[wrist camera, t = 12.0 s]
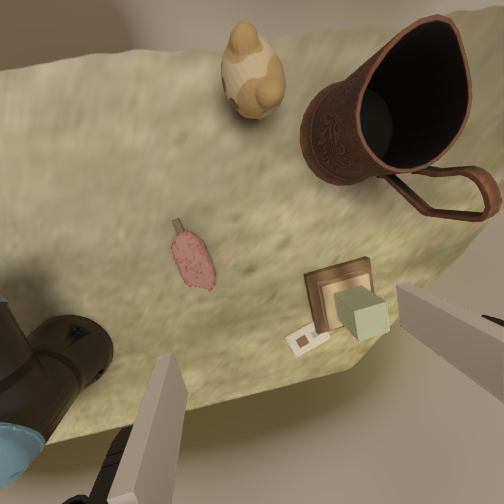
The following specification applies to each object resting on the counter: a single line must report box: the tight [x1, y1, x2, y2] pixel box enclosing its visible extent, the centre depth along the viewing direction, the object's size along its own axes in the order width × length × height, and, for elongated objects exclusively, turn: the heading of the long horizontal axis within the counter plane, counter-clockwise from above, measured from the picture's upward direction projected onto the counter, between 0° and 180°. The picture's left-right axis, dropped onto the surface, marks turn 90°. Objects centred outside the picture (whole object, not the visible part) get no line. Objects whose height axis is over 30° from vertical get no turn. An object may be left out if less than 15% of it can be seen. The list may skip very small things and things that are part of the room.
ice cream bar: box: [171, 219, 216, 291], centre depth 48 cm, size 6×4×15 cm
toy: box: [221, 21, 285, 121], centre depth 37 cm, size 10×8×15 cm
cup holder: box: [300, 14, 502, 222], centre depth 37 cm, size 18×24×25 cm
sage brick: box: [333, 285, 390, 341], centre depth 48 cm, size 6×6×8 cm
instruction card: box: [285, 321, 331, 357], centre depth 57 cm, size 9×6×1 cm, turn 119°
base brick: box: [304, 256, 374, 334], centre depth 54 cm, size 14×14×4 cm
